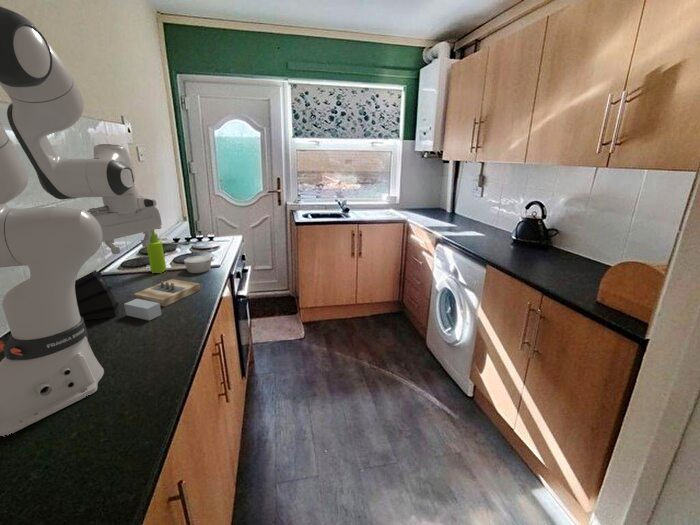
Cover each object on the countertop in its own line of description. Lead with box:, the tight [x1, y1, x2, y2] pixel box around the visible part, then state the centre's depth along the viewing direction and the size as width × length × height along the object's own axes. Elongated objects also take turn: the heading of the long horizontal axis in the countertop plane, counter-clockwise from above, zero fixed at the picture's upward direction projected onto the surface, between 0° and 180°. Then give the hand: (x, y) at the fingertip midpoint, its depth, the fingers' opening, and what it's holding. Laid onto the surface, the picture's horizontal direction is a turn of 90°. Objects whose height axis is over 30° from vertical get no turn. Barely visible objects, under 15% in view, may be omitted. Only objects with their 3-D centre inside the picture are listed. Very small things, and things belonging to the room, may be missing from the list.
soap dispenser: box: [146, 226, 167, 274], centre depth 145 cm, size 6×7×20 cm
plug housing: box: [123, 298, 162, 322], centre depth 107 cm, size 10×4×4 cm, turn 69°
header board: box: [133, 278, 202, 307], centre depth 123 cm, size 16×14×5 cm
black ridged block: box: [75, 269, 120, 321], centre depth 105 cm, size 4×13×15 cm, turn 107°
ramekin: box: [183, 255, 212, 274], centre depth 150 cm, size 11×11×5 cm
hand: (131, 249), depth 103 cm, fingers open, 8 cm apart
